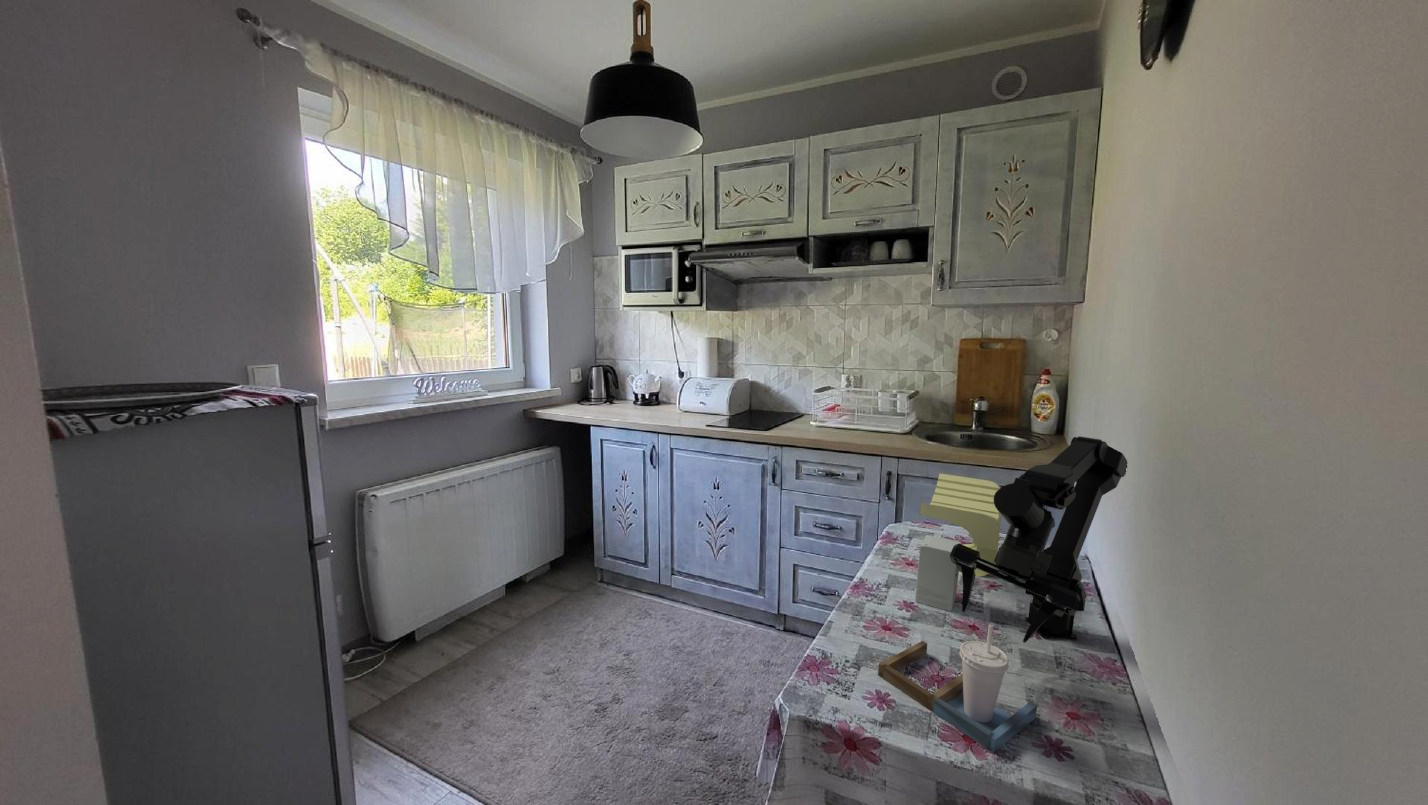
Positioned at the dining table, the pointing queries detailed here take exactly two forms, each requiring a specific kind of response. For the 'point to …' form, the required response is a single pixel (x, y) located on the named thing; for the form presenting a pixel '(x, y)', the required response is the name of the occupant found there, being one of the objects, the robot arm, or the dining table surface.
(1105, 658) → the dining table surface
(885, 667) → the blue and brown frame
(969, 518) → the slatted curved stool
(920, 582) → the supplement box
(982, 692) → the smoothie
